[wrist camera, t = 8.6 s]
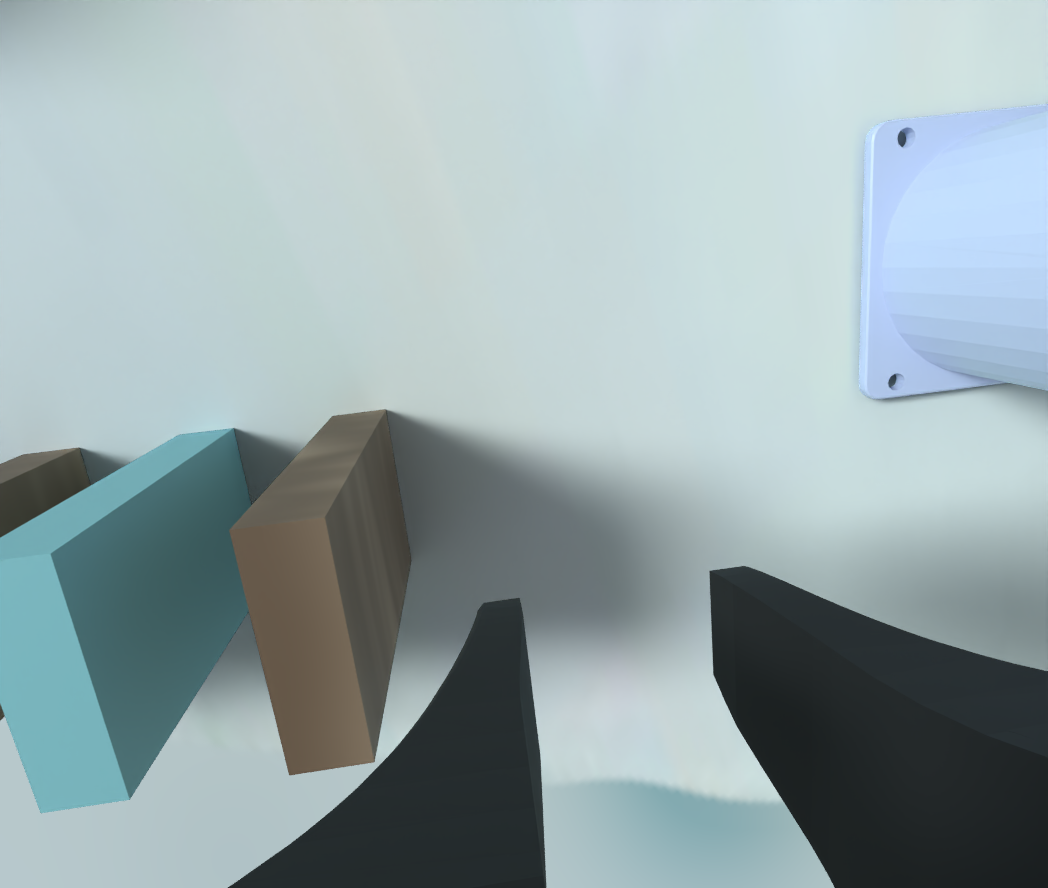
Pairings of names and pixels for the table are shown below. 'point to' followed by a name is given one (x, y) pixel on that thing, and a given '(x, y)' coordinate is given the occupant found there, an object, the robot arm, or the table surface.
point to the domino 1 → (38, 486)
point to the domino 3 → (328, 590)
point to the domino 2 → (119, 616)
